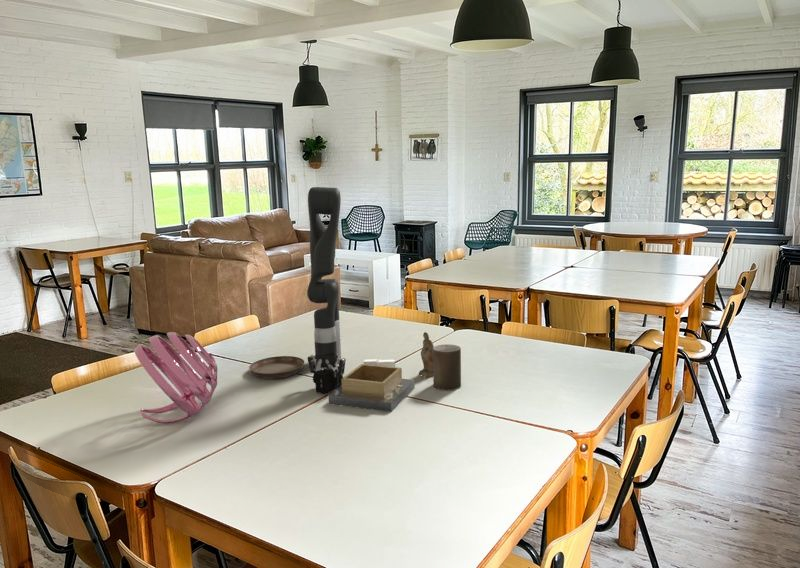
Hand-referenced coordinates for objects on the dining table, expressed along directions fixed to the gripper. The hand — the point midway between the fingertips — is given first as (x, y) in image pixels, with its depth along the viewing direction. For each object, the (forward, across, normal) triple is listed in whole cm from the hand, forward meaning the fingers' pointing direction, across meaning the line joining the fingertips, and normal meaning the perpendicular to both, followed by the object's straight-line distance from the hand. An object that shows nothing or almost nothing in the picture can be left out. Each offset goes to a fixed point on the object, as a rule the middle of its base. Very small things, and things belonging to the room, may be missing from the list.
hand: (327, 385), depth 220 cm
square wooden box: (+1, +18, -2) cm, 18 cm away
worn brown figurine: (+1, +30, +27) cm, 40 cm away
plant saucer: (+2, -27, +11) cm, 29 cm away
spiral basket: (+1, -34, -35) cm, 49 cm away
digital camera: (+1, 0, 0) cm, 1 cm away
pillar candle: (+1, +39, +15) cm, 42 cm away
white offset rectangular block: (+2, +11, +21) cm, 23 cm away
